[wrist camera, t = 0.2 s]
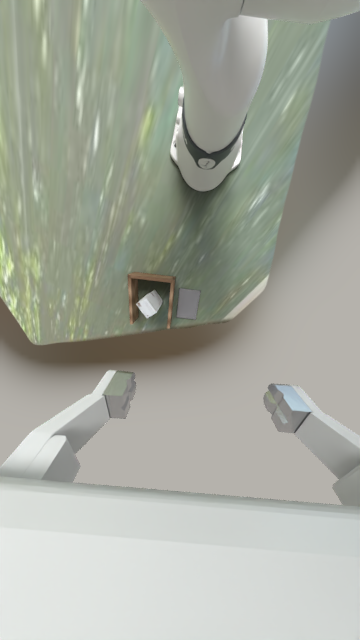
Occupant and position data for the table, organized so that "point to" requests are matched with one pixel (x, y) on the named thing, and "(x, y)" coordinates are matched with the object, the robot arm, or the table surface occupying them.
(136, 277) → the walnut u-shaped frame
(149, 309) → the skincare box
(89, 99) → the table surface
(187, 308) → the charcoal mat
